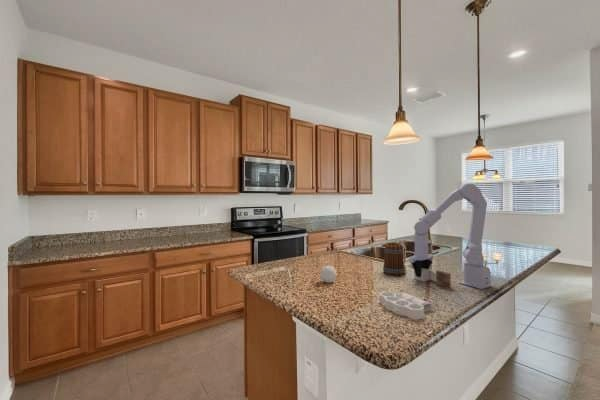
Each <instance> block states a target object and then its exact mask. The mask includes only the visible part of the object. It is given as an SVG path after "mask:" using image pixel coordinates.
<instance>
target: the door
mask: <svg viewBox="0 0 600 400" xmlns="http://www.w3.org/2000/svg"><path fill="white" fill-rule="evenodd" d="M429 280H432V281H433V282H435V283H436V270H435V271H434V270H432V269H430V268H429Z"/></svg>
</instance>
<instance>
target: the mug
mask: <svg viewBox="0 0 600 400" xmlns="http://www.w3.org/2000/svg"><path fill="white" fill-rule="evenodd" d="M383 250H384V251H383V252H384V254H383V255H384V256H383V257H384V258H383V266H382V267H383V268H382V270H383V273H384V274H386V275H388V276H394V277H395V276H396V277H397V276H398V277H400V276H403V275H405V273H406V267H405V262H404V249H403V244H402V243H401V242H398V241H395V242H386V243H385V244H384V249H383Z"/></svg>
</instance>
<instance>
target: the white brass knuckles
mask: <svg viewBox="0 0 600 400" xmlns="http://www.w3.org/2000/svg"><path fill="white" fill-rule="evenodd" d="M378 298H379V299H378V303H379V304H380V303H381V304H380V305H381V306H383V307H384V308H385V309H386V310H387V309H388V310H389V311H391V312H393V314H396V315H399V316H403V317H407V318H409V319H411V320H422V319H424V318H425V312H429V311H431V310H432V308H433V304H432V303H430V302H429V301H425V300H423V299H420V298H418V297H416V296H413V295H410V294H408V293H406V292H398V293H397V292H390V291H382V292H379V295H378Z"/></svg>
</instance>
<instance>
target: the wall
mask: <svg viewBox="0 0 600 400" xmlns="http://www.w3.org/2000/svg"><path fill="white" fill-rule="evenodd" d="M435 272H436V282H435V283H436V286H439V287H442V288H445V289H451V283H452V282H451V275H452V273H450V272H446V271H442V270H440V269H439V270H435Z"/></svg>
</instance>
